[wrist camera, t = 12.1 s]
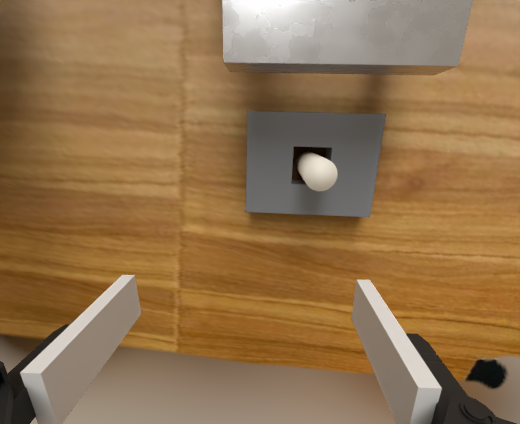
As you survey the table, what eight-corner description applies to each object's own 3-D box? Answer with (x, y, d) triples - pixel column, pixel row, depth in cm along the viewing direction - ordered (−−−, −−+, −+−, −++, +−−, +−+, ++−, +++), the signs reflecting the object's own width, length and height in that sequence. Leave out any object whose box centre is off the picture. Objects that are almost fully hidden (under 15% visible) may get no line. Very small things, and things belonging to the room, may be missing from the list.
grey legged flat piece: (243, 90, 37) (223, 62, 23) (244, -10, 34) (221, -119, 19) (385, 93, 36) (458, 65, 22) (400, -9, 33) (499, -123, 18)
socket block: (248, 205, 42) (246, 212, 38) (250, 113, 38) (247, 110, 34) (361, 209, 41) (369, 217, 37) (374, 116, 37) (385, 114, 33)
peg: (294, 174, 40) (302, 190, 29) (296, 151, 39) (305, 157, 28) (318, 175, 40) (335, 191, 29) (320, 152, 39) (339, 158, 28)
